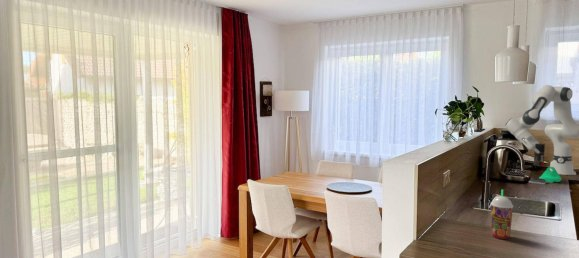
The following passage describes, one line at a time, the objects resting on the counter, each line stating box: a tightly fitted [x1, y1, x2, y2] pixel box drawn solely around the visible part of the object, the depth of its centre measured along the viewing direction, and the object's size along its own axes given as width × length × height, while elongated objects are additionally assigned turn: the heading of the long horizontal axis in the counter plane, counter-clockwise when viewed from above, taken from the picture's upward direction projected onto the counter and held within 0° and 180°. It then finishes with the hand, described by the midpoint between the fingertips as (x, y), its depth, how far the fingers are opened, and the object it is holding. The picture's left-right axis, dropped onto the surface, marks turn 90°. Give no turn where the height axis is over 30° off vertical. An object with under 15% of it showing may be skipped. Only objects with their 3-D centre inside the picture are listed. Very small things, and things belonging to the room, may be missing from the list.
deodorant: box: [533, 143, 546, 167], centre depth 269 cm, size 6×6×15 cm
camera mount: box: [538, 166, 562, 183], centre depth 274 cm, size 12×8×10 cm, turn 46°
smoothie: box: [490, 189, 514, 240], centre depth 161 cm, size 8×8×20 cm
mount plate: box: [528, 177, 549, 185], centre depth 270 cm, size 10×10×2 cm
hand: (540, 152), depth 269 cm, fingers closed on deodorant, 6 cm apart
